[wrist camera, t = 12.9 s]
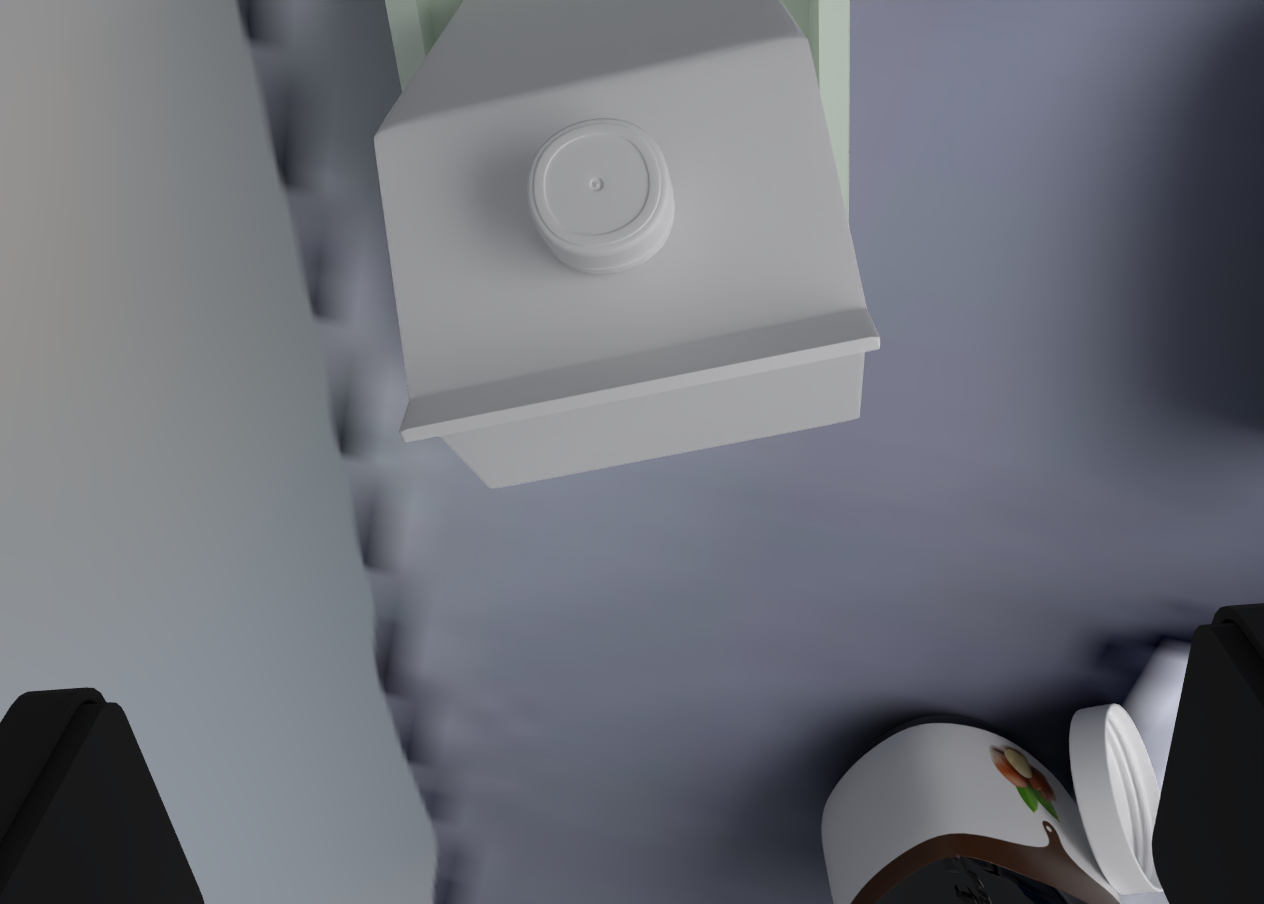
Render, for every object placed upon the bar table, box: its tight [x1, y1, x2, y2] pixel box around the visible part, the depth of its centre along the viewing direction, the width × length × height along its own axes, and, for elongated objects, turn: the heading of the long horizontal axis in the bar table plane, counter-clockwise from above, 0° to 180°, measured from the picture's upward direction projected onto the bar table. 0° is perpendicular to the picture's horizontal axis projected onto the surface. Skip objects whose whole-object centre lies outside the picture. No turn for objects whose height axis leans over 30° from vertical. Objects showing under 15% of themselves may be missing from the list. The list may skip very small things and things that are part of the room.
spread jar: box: [821, 703, 1163, 904], centre depth 43 cm, size 12×11×12 cm
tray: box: [385, 0, 850, 224], centre depth 33 cm, size 15×12×2 cm
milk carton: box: [374, 0, 880, 489], centre depth 25 cm, size 7×7×19 cm
